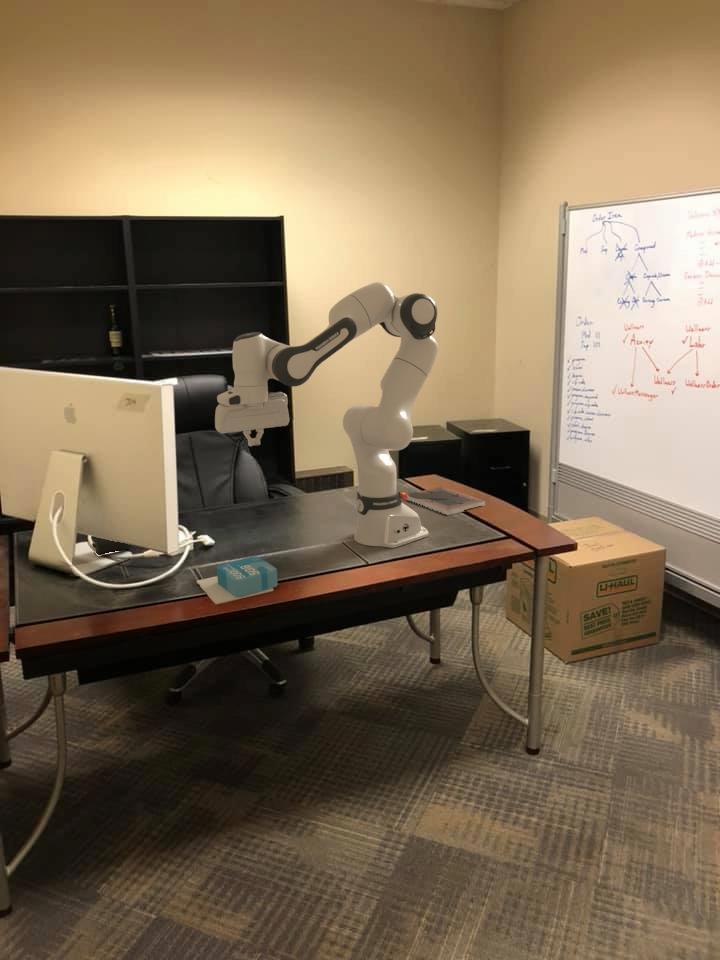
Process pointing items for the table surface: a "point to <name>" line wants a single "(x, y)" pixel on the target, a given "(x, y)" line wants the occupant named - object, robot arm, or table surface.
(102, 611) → the table surface
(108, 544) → the end cap
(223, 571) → the blue box
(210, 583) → the grey pad
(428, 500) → the picture frame
